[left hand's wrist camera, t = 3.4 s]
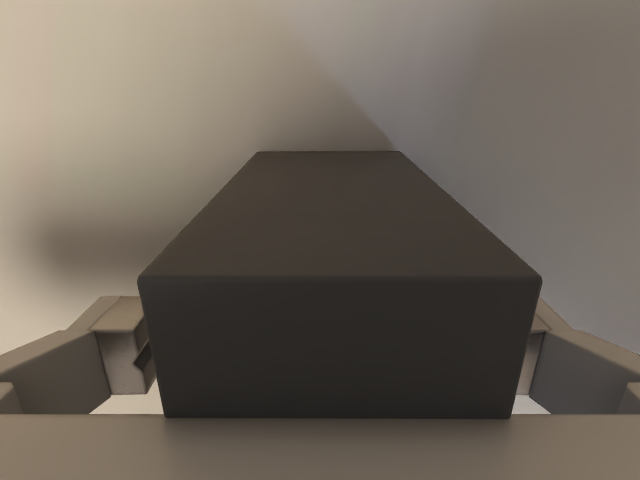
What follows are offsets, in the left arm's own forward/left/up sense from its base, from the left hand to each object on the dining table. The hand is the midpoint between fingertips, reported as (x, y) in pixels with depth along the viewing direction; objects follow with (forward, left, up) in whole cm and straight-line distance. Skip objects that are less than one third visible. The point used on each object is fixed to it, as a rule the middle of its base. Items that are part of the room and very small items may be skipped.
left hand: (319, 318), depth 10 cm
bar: (+8, +5, -4) cm, 11 cm away
